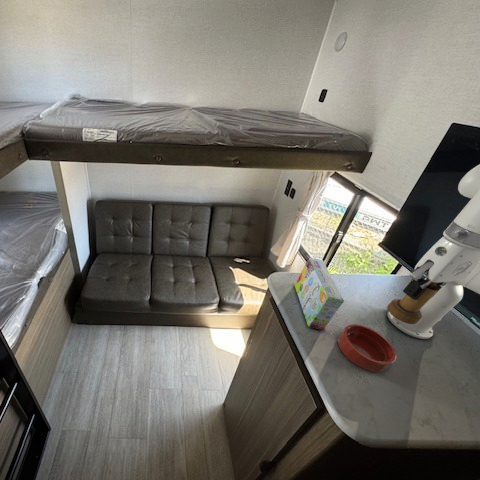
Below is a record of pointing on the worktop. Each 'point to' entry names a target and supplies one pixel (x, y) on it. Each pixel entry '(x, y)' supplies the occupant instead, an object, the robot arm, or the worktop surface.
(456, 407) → the worktop surface
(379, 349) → the bowl
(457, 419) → the worktop surface
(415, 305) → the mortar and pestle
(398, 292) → the worktop surface
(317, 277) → the snack box
